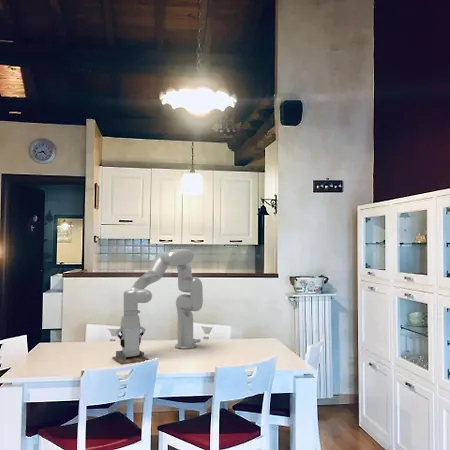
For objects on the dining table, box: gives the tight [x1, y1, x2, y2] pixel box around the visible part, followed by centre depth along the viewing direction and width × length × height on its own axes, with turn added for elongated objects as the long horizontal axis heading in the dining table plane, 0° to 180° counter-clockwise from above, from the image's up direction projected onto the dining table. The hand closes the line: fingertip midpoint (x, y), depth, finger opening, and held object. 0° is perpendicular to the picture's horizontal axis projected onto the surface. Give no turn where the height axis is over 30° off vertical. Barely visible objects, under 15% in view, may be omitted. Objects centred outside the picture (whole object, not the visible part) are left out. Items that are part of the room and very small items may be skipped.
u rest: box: [111, 349, 150, 365], centre depth 245 cm, size 15×15×4 cm
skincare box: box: [121, 328, 141, 357], centre depth 246 cm, size 8×6×15 cm
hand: (130, 345), depth 245 cm, fingers closed on skincare box, 8 cm apart
